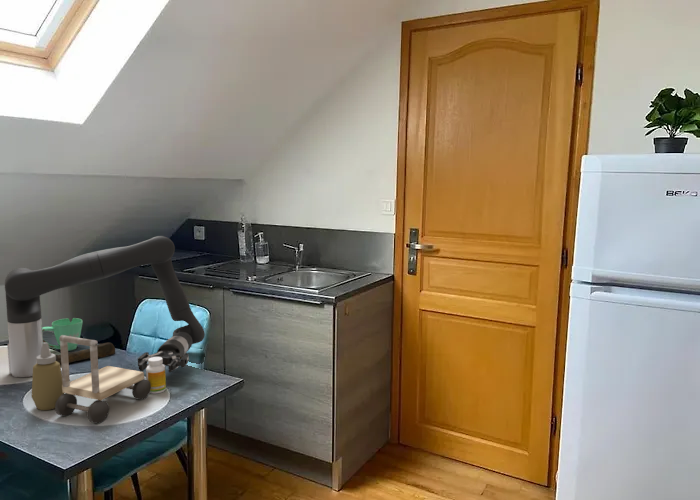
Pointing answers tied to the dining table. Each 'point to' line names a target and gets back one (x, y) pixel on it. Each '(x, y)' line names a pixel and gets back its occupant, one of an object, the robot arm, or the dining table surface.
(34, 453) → the dining table surface
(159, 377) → the supplement bottle
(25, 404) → the dining table surface
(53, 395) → the squeeze bottle
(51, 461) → the dining table surface
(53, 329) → the mug
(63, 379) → the trolley
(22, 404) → the dining table surface
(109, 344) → the hand tool
